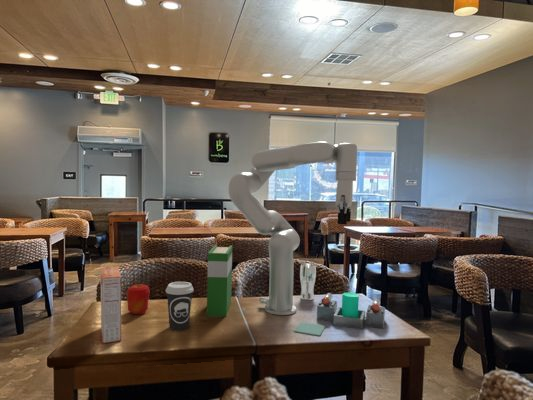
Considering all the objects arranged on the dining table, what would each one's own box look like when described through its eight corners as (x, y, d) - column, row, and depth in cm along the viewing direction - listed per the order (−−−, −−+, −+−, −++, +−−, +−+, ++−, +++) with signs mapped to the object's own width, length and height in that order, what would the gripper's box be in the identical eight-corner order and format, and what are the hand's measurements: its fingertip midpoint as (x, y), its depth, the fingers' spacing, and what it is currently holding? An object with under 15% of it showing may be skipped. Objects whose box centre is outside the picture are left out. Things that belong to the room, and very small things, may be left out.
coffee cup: (198, 324, 137) (198, 282, 136) (184, 334, 128) (184, 289, 127) (174, 320, 140) (175, 279, 139) (159, 330, 131) (159, 286, 130)
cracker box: (100, 327, 131) (100, 267, 130) (119, 325, 134) (119, 266, 133) (100, 344, 118) (101, 277, 117) (121, 341, 121) (122, 275, 120)
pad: (294, 331, 132) (294, 330, 132) (300, 322, 141) (300, 321, 141) (319, 336, 129) (320, 335, 129) (325, 326, 138) (325, 325, 138)
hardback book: (213, 301, 163) (214, 245, 161) (231, 301, 163) (232, 245, 161) (206, 316, 145) (207, 253, 144) (226, 316, 145) (227, 253, 144)
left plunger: (321, 305, 145) (321, 297, 145) (325, 299, 152) (325, 292, 152) (329, 306, 144) (329, 298, 144) (332, 300, 151) (333, 292, 151)
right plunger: (370, 312, 139) (371, 303, 138) (372, 305, 146) (372, 297, 146) (379, 313, 138) (379, 304, 137) (380, 306, 145) (381, 298, 145)
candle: (348, 326, 138) (349, 293, 138) (338, 320, 144) (339, 289, 143) (361, 323, 141) (362, 291, 141) (350, 318, 147) (351, 287, 146)
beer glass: (314, 301, 166) (315, 266, 166) (298, 299, 168) (299, 265, 167) (315, 296, 173) (316, 263, 172) (300, 295, 175) (301, 262, 174)
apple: (135, 307, 152) (135, 278, 151) (154, 310, 150) (154, 280, 149) (121, 315, 144) (121, 284, 143) (141, 317, 142) (141, 286, 141)
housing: (314, 322, 142) (315, 307, 141) (321, 311, 154) (322, 297, 153) (382, 332, 134) (383, 316, 133) (384, 320, 145) (385, 305, 145)
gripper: (339, 177, 152) (338, 220, 153) (331, 176, 136) (329, 224, 137) (358, 177, 150) (357, 221, 151) (353, 176, 133) (351, 225, 134)
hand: (344, 222), depth 144 cm, fingers open, 9 cm apart
